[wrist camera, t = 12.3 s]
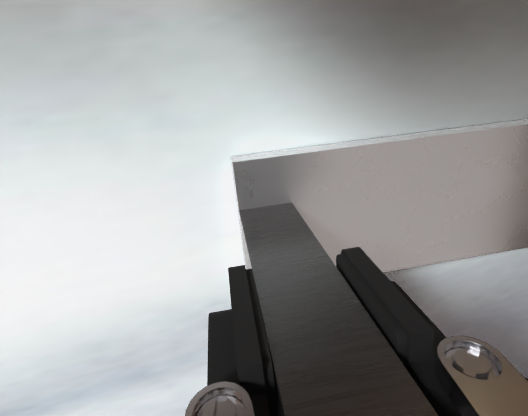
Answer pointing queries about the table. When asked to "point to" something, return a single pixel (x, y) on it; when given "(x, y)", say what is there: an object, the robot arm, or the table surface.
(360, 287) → the robot arm
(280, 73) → the table surface
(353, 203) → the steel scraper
